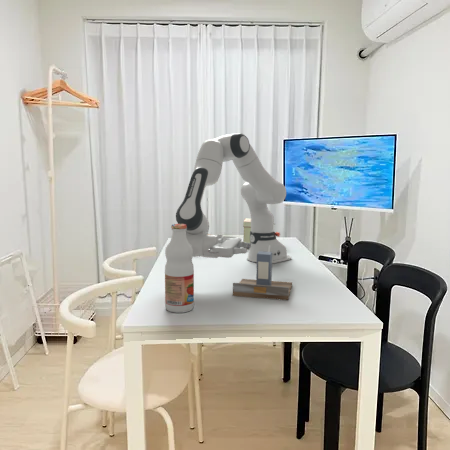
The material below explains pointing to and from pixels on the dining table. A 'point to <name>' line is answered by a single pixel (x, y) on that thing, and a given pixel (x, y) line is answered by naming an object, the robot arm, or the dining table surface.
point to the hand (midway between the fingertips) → (249, 248)
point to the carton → (264, 268)
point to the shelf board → (262, 289)
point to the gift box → (247, 230)
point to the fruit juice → (179, 272)
